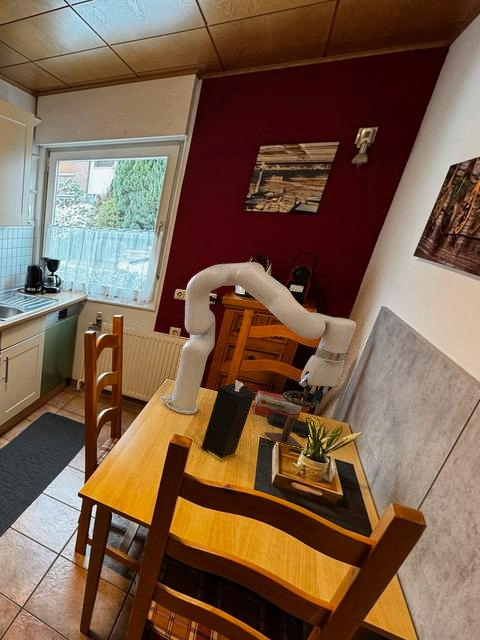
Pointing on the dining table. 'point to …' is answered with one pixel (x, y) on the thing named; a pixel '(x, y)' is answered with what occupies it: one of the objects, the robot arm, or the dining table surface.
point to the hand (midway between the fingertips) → (311, 401)
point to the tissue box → (227, 419)
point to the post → (285, 434)
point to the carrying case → (280, 421)
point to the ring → (294, 401)
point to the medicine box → (274, 405)
